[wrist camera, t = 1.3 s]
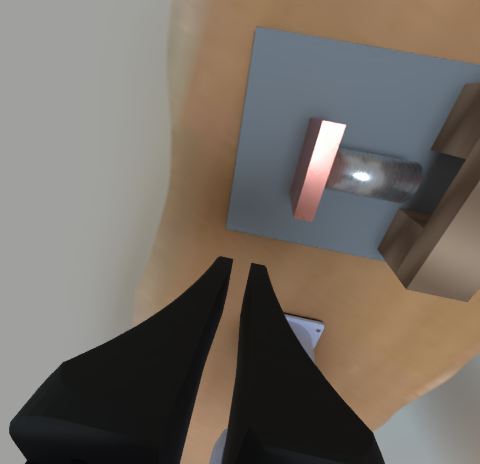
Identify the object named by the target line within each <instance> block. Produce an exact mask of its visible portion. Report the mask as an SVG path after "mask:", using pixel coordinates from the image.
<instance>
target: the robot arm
mask: <svg viewBox="0 0 480 464" xmlns="http://www.w3.org/2000/svg"><path fill="white" fill-rule="evenodd" d="M232 263H233V259H231V258H226V257H221V256H220V257H218V258H217V259H216V260H215V262H214V263H213V264H212V265H211V267H210V268H209V269H208V270H207V271H206V272H205V273H204V274H203V275H202V276H201V277H200V278H199V279H198V280H197V281H196V282H195V283H194V284H193V285H192V286H191V287H190V288H188V289H187V290H186V291H185V292H184V293H183V294H182V295H180V296H179V297H178V298H177V299H175V300H174V301H173V302H172V303H170V304H169V305H168V306H166V307H165V308H163V309H162V310H161V311H159V312H158V313H156V314H155V315H153V316H151V317H150V318H148V319H147V320H145V321H144V322H142V323H141V324H139V325H137V326H136V327H134V328H132V329H130V330H128V331H126V332H125V333H123V334H121V335H119V336H117V337H116V338H114V339H112V340H110V341H108V342H106V343H104V344H102V345H100V346H98V347H96V348H94V349H91V350H89V351H87V352H85V353H83V354H81V355H78V356H77V357H74V358H72V359H70V360H67V361H65V362H63V363H62V364H61V365H60V366H59V367H58V368H57V369H56V370H55V371H54V373H52V374H51V375H50V376H49V377H48V378H47V379H46V380H45V382H44V383H43V384H42V385H41V386H40V387H39V388H38V390H37V391H36V392H35V393H34V394H33V396H32V397H31V398H30V399H29V400H28V401H27V403H26V404H25V405H24V406H23V407H22V409H21V410H20V411H19V412H18V414H17V415H16V416H15V417H14V418H13V419H12V421H11V422H10V427H9V433H10V435H11V438H12V440H13V441H14V442H15V444H16V445H17V447H18V448H19V449H20V451H21V452H22V454H23V455H24V456H25V458H26V459H27V461H26V463H25V464H180V460H181V456H182V452H183V448H184V444H185V440H186V436H187V432H188V428H189V424H190V420H191V416H192V412H193V408H194V404H195V400H196V396H197V392H198V388H199V384H200V380H201V376H202V372H203V369H204V365H205V362H206V359H207V356H208V353H209V350H210V347H211V345H212V342H213V339H214V336H215V333H216V330H217V327H218V324H219V322H220V319H221V316H222V313H223V309H224V304H225V300H226V296H227V291H228V286H229V280H230V274H231V269H232ZM323 330H324V324H323V323H322V322H319V321H314V320H310V319H305V318H300V317H296V316H291V315H286V314H284V313H283V311H282V309H281V306H280V304H279V302H278V300H277V297H276V295H275V293H274V290H273V287H272V285H271V282H270V279H269V275H268V272H267V268H266V266H264V265H260V264H255V263H251V267H250V271H249V276H248V280H247V285H246V289H245V293H244V298H243V304H242V310H241V315H240V327H239V342H238V357H237V369H236V378H235V385H234V391H233V398H232V404H231V411H230V417H229V423H228V429H225V430H224V431H223V432H222V434H221V436H220V437H219V438H218V440H217V441H216V443H215V445H214V448H213V451H212V454H211V458H210V462H209V464H385V462H384V460H383V457H382V454H381V452H380V449H379V447H378V444H377V442H376V439H375V437H374V434H373V432H372V431H371V430H370V429H369V428H368V427H367V426H366V425H365V424H364V422H363V421H362V420H361V419H360V418H359V417H358V416H357V415H356V414H355V413H354V411H353V410H352V409H351V408H350V407H349V406H348V405H347V404H346V403H345V402H344V400H343V399H342V398H341V397H340V396H339V395H338V393H337V392H336V391H335V390H334V388H333V387H332V386H331V385H330V383H329V382H328V381H327V380H326V378H325V377H324V376H323V374H322V373H321V372H320V370H319V369H318V368H317V366H316V362H315V356H314V348H315V346H316V344H317V342H318V340H319V338H320V336H321V334H322V332H323Z"/></svg>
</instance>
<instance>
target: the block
mask: <svg viewBox="0 0 480 464" xmlns="http://www.w3.org/2000/svg"><path fill="white" fill-rule="evenodd" d="M430 150H434V151H437V152H441V153H445V154H449V155H452V156H456V157H460V158H463V159H466V161H465V162H464V164H463V166H462V167H461V169H460V170H459V172H458V174H457V175H456V177H455V178H454V180H453V182H452V183H451V185H450V187H449V188H448V190H447V191H446V193H445V195H444V196H443V198H442V200H441V201H440V203H439V204H438V206H437V208H436V209H435V211H434V212H433V214H432V215H430V214H425V213H419V212H414V211H409V210H404V209H398V211H397V213H396V215H395V217H394V219H393V220H392V222H391V224H390V226H389V228H388V230H387V232H386V234H385V235H384V237H383V239H382V241H381V243H380V245H379V247H378V248H377V250H378V251H379V253H380V254H381V255H382V257H383V258H384V259H385V261H386V262H387V264H388V265H389V266H390V268H391V269H392V270H393V272H394V273H395V275H396V276H397V277H398V279H399V280H400V281H401V283H402V284H403V286H404V287H405V288H406V289H407V290H412V291H417V292H421V293H426V294H431V295H436V296H441V297H445V298H450V299H455V300H460V301H465V302H468V301H469V300H470V299H471V298H472V296H473V295H474V294H475V293H476V292H477V291H478V290H479V288H480V83H473V84H465V86H464V87H463V89H462V91H461V93H460V95H459V97H458V99H457V101H456V102H455V104H454V106H453V108H452V110H451V112H450V114H449V116H448V117H447V119H446V121H445V123H444V125H443V127H442V129H441V131H440V132H439V134H438V136H437V138H436V140H435V142H434V144H433V145H432V147H431V149H430Z"/></svg>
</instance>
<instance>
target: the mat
mask: <svg viewBox="0 0 480 464" xmlns="http://www.w3.org/2000/svg"><path fill="white" fill-rule="evenodd" d="M473 83H480V65H477V64H471V63H465V62H459V61H454V60H448V59H442V58H436V57H431V56H425V55H419V54H413V53H407V52H402V51H396V50H390V49H384V48H378V47H373V46H367V45H361V44H355V43H350V42H344V41H338V40H332V39H326V38H321V37H315V36H309V35H303V34H297V33H292V32H286V31H280V30H274V29H269V28H263V27H257V26H256V31H255V37H254V44H253V51H252V57H251V64H250V71H249V77H248V84H247V91H246V98H245V104H244V111H243V118H242V124H241V131H240V138H239V144H238V151H237V158H236V164H235V171H234V178H233V184H232V191H231V198H230V205H229V211H228V218H227V225H226V229H229V230H234V231H239V232H244V233H248V234H253V235H258V236H263V237H268V238H273V239H278V240H283V241H288V242H292V243H297V244H302V245H307V246H312V247H317V248H322V249H327V250H332V251H337V252H341V253H346V254H351V255H356V256H361V257H366V258H371V259H376V260H381V261H385V259H384V258H383V257H382V255H381V254H380V253H379V251H378V250H377V248H378V247H379V245H380V243H381V241H382V239H383V237H384V235H385V234H386V232H387V230H388V228H389V226H390V224H391V222H392V220H393V219H394V217H395V215H396V213H397V211H398V209H404V210H409V211H414V212H419V213H425V214H430V215H432V214H433V212H434V211H435V209H436V208H437V206H438V204H439V203H440V201H441V200H442V198H443V196H444V195H445V193H446V191H447V190H448V188H449V187H450V185H451V183H452V182H453V180H454V178H455V177H456V175H457V174H458V172H459V170H460V169H461V167H462V166H463V164H464V162H465V161H466V159H463V158H460V157H456V156H452V155H449V154H445V153H441V152H437V151H434V150H430V149H431V147H432V145H433V144H434V142H435V140H436V138H437V136H438V134H439V132H440V131H441V129H442V127H443V125H444V123H445V121H446V119H447V117H448V116H449V114H450V112H451V110H452V108H453V106H454V104H455V102H456V101H457V99H458V97H459V95H460V93H461V91H462V89H463V87H464V86H465V84H473ZM311 117H312V118H317V119H323V120H328V121H332V122H336V123H341V124H345V125H346V127H345V130H344V133H343V135H342V138H341V141H340V144H339V147H340V148H345V149H350V150H355V151H361V152H366V153H371V154H377V155H382V156H387V157H393V158H398V159H403V160H408V161H414V162H418V163H419V164H420V165H421V167H422V171H423V175H422V180H421V184H420V186H419V188H418V190H417V192H416V193H415V195H414V196H413V197H412V198H411V199H410V200H409V201H407V202H405V203H402V204H399V203H394V202H389V201H384V200H379V199H374V198H368V197H363V196H358V195H353V194H348V193H343V192H338V191H333V190H327V189H324V190H323V193H322V196H321V199H320V201H319V204H318V207H317V210H316V213H315V216H314V219H313V221H312V222H311V221H306V220H301V219H296V218H293V213H292V207H291V202H290V196H289V194H290V190H291V186H292V183H293V179H294V176H295V172H296V168H297V165H298V161H299V158H300V154H301V150H302V147H303V143H304V140H305V136H306V132H307V129H308V125H309V122H310V118H311Z"/></svg>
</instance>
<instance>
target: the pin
mask: <svg viewBox="0 0 480 464" xmlns="http://www.w3.org/2000/svg"><path fill="white" fill-rule="evenodd" d="M345 127H346V125H345V124H341V123H336V122H332V121H328V120H323V119H317V118H312V117H311V118H310V122H309V125H308V129H307V132H306V136H305V140H304V143H303V147H302V150H301V154H300V158H299V161H298V165H297V168H296V172H295V176H294V179H293V183H292V186H291V190H290V194H289V196H290V202H291V207H292V213H293V218H296V219H301V220H306V221H311V222H312V221H313V219H314V216H315V213H316V210H317V207H318V204H319V201H320V199H321V196H322V193H323V190H324V189H327V190H333V191H338V192H343V193H348V194H353V195H358V196H363V197H368V198H374V199H379V200H384V201H389V202H394V203H399V204H402V203H405V202H407V201H409V200H410V199H411V198H412V197H413V196H414V195H415V193H416V192H417V190H418V188H419V186H420V184H421V180H422V175H423V171H422V167H421V165H420V164H419V163H418V162H414V161H408V160H403V159H398V158H393V157H387V156H382V155H377V154H371V153H366V152H361V151H355V150H350V149H345V148H340V147H339V144H340V141H341V138H342V135H343V133H344V130H345Z"/></svg>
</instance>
